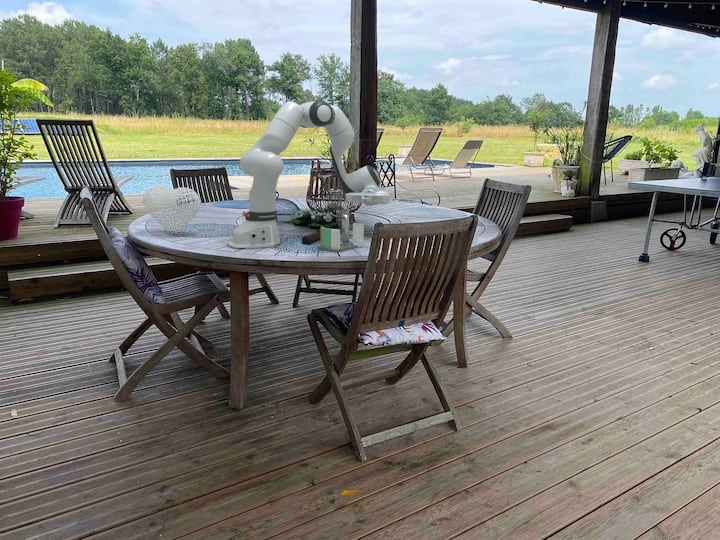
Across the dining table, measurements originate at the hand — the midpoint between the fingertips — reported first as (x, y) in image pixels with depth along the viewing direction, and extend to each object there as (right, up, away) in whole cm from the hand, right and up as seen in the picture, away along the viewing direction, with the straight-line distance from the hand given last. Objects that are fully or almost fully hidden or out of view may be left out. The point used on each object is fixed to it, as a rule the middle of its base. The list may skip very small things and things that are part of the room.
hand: (364, 199), depth 223 cm
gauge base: (-12, -22, -11) cm, 27 cm away
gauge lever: (-6, -20, -13) cm, 25 cm away
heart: (-89, -14, +14) cm, 91 cm away
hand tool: (-23, -18, +4) cm, 29 cm away
